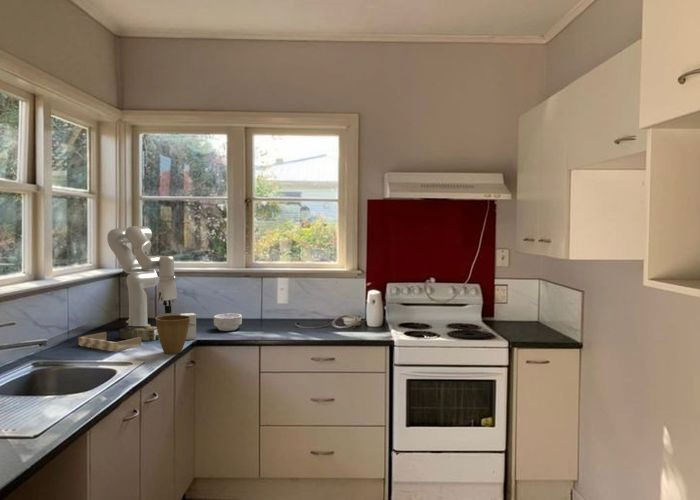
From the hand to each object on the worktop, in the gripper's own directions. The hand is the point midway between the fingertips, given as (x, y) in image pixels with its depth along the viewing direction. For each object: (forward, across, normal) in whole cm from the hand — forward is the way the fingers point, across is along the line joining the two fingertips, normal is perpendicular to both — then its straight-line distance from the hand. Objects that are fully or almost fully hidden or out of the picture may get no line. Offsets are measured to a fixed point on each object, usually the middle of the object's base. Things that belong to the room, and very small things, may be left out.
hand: (168, 313), depth 273 cm
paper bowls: (+12, -22, +22) cm, 33 cm away
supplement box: (+12, +6, +20) cm, 24 cm away
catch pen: (+11, +34, -1) cm, 36 cm away
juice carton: (+11, +16, -2) cm, 20 cm away
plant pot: (+12, +30, +36) cm, 49 cm away
